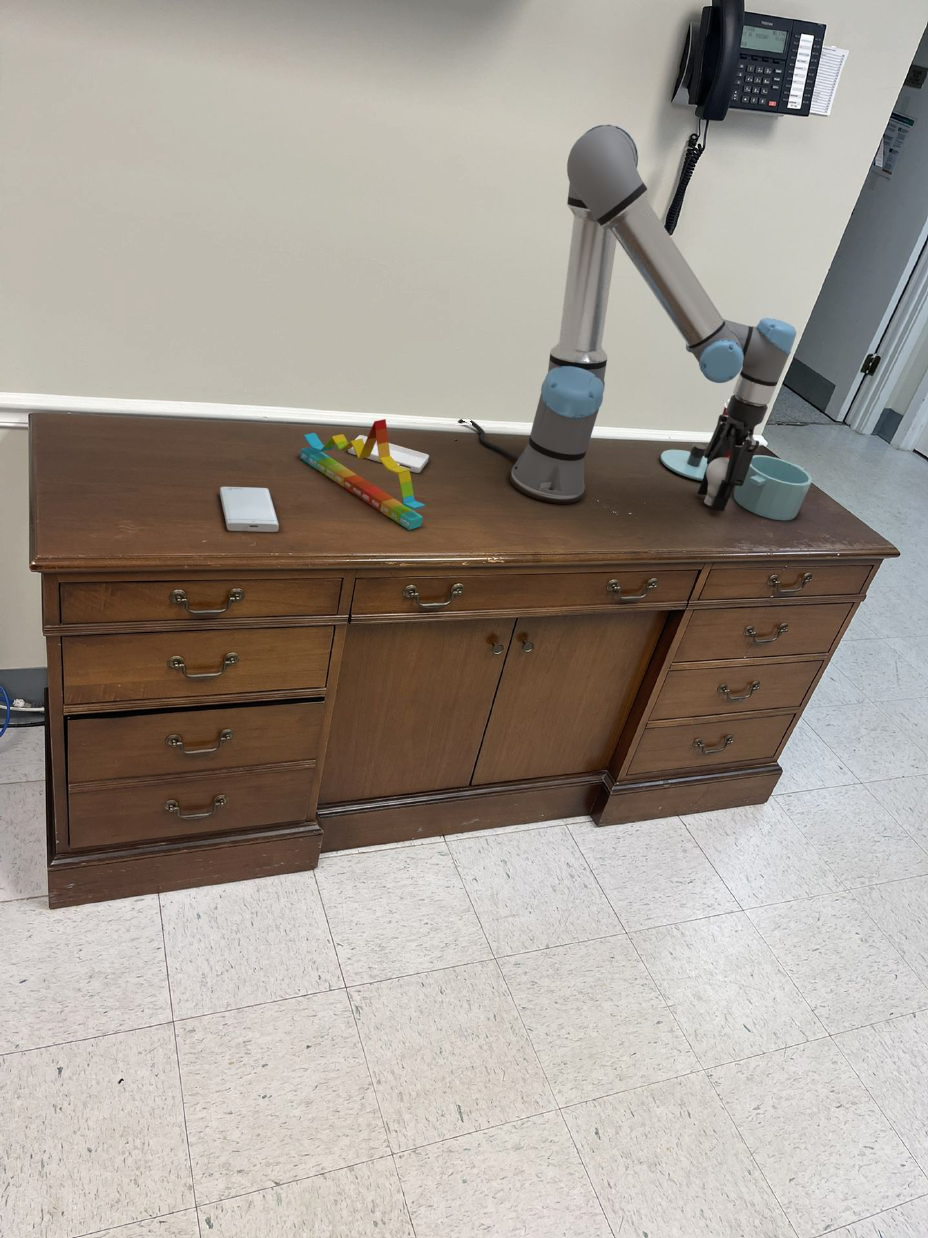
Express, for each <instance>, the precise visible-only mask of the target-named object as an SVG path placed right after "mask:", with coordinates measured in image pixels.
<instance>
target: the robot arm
mask: <svg viewBox="0 0 928 1238" xmlns="http://www.w3.org/2000/svg"><path fill="white" fill-rule="evenodd" d="M567 158H568V159H567V162H566V173H567V178H568V181H569V182H568V183H569V185H568V195H567V202H566V206H567V208H569V210H570V211H571V213H572V215H573V221H572V229H571V239H570V245H569V255H568V262H567V271H566V280H565V289H564V295H563V304H562V305H563V306H562V313H561V322H560V331H559V338H558V343H557V344H555V345H554V346H553V347H551V349H550V351H549V360H548V368H547V373H546V375H545V378H544V380H543V382H542V384H541V387H540V395H539V398H538V399H539V400H538V402H537V407H536V411H535V415H534V419H533V422H532V426H531V430H530V434H529V437H528V442H527V445H526V447H525V448H524V449H523V451H522V452H521V454H520V455H519V456H517V455H516V454H514V453H512V452H511V451H509V450H507V449H505V448H503V447H501V446H498V445H497V444H494V443H493V442H490V441H488V440H487V439H486V438H485V436H486V432H485V429H483V428H482V427H481V426H480V425H479V424H478V423H477V422H476V421H474V420H472V419H470V420H471V421H470V422H471V423H472V425H471V424H469V425H470V426H472V427H473V428H474V429H475V430H476V431H477V432H478V433H480V435H479V440H480V442H481V443H482V444H483V445H484V446H486V447H488V448H490V449H493V450H495V451H496V452H497V451H498V452H499V453H501V454H503V455H504V456H507V457H508V458H510V459H512V460H513V461H515V463H514V465H513V466H512V468H511V472H510V476H509V481H510V483H511V485H512V486H513V487H514V488H515V489H516V490H518V491H519V492H520V493H522V494H524V495H526V496H527V497H530V498H532V499H534V500H538V501H540V502H544V503H549V504H558V505H568V504H574V503H577V502H579V501H581V499H582V498H583V496H584V494H585V490H586V484H585V483H586V482H585V457H586V453H587V450H588V448H589V444H590V441H591V438H592V435H593V430H594V428H595V424H596V421H597V417H598V414H599V411H600V407H601V406H602V403H603V401H604V392H605V386H606V382H605V381H606V380H605V377H606V369H607V362H608V354H607V352H606V351H605V350H604V349H603V347H602V345H603V339H604V331H605V324H606V317H607V310H608V303H609V295H610V289H611V282H612V277H613V276H612V275H613V269H614V268H613V267H614V262H615V255H616V247H617V241H618V243H619V245H620V246H621V247H622V249H623V250H624V252H625V254H626V255H627V256H628V258H629V259H630V261H631V263H632V264H633V266H634V267H635V269H636V270H637V272H638V273H639V275H640V277H642V279H643V280H644V282H645V284H646V285H647V286H648V288H649V290H650V291H651V293H652V294H653V295H654V297H655V299H656V300H657V302H658V303H659V305H660V306H661V307H662V309H663V310H664V312H665V313H666V315H667V316H668V318H669V319H670V321H671V322H672V324H673V325H674V328H676V330H677V331H678V333H679V334H680V336H681V337H682V339H683V341H684V342H685V350H686V352H688V353H691V354H692V355H693V356H694V358H695V359H696V361H697V362H698V366H699V370H700V371H701V373H702V375H703V376H704V377H705V378H706V379H707V380H708V381H710V382H712V383H716V384H724V383H727V382H730V381H733V379H735V378H736V377H737V376H738V377H737V379H736V382H735V385H734V387H733V390H732V393H733V394H732V395H731V396H730V398H729V399H730V401H729V404H728V406H727V409H726V413H727V415H728V416H727V415H722V414H720V415H719V416H718V419H717V423H716V427H715V429H714V431H713V434H712V436H711V439H710V440H709V443H708V446H707V447H706V450H705V453H704V455H703V456H704V457H705V458H707V464H708V465H709V464H710V463H711V462H712V461H713V460H714V459H716V458H719V457H725V455H726V453H727V452H728V450H729V449H730V450H731V453H730V458H729V463H728V468H727V473H726V478H725V480H722V482H721V485H720V487H719V490H718V492H717V495H716V497H715V500H714V502H713V505H712V506H711V508H710V509H711V511H715V512H725V510H726V507H727V505H728V502H729V500H730V498H731V497H732V494H733V493H734V490H735V488H736V486H742V485H743V484H744V481H745V478H746V475H747V472H748V469H749V466H750V464H751V461H752V458H753V456H754V455H755V452H756V451H757V449H758V448H759V445H760V440H755V438H754V434H755V433H754V432H755V428H756V426H757V425H761V424H762V423H763V421H764V419H765V416H766V414H767V412H768V408H769V407H768V405H769V404H770V403H771V400H772V398H773V396H774V392H775V390H776V387H777V386H778V383H779V381H780V378H781V376H782V373H783V372H784V369H785V366H786V364H787V361H788V360H789V357H790V355H791V354H792V349H793V346H794V343H795V340H796V337H797V330H796V328H795V326H793V325H791V324H790V323H788V322H786V321H784V320H781V319H776V318H771V317H763V318H761V319H760V320H759V322H758V324H757V325H756V326H755V325H753V326H750V325H747V324H743V323H739V322H736V321H732V320H728V319H724V318H723V316H722V315H721V313H720V312H719V310H718V309H717V307H716V306H715V304H714V303H713V301H712V299H711V298H710V297H709V295H708V293H707V292H706V290H705V288H704V287H703V285H702V284H701V283H700V282H701V281H699V279H698V277H697V276H696V274H695V273H694V271H693V269H692V268H691V266H690V265H689V264H688V262H687V260H686V258H685V257H684V255H683V254H682V252H681V251H680V249H679V248H678V246H677V244H676V243H675V241H674V240H673V238H672V236H671V235H670V234H669V232H668V230H667V229H666V228H665V226H664V224H663V223H662V221H661V219H660V218H659V216H658V215H657V213H656V212H655V211H654V208H653V207H652V205H651V204H650V202H649V201H648V195H649V189H648V187H647V186H646V184H645V183H644V181H643V179H642V177H641V175H640V173H639V171H638V165H639V155H638V148H637V144H636V142H635V140H634V138H632V136H631V135H630V134H629V132H627V131H626V130H625V129H623V128H622V127H619V126H618V125H611V124H599V125H596V126H594V127H592V128H590V129H588V130H586V132H584V133H583V135H581V136H580V137H579V138H578V139H576V141H575V142H574V144H573V146H572V147H571V149H570V151H569V154H568V157H567ZM462 419H463V418H460V419H459V420H458V421H457V424H459V425H460V424H461V425H462V424H465V423H466V424H468V423H467V422H465V421H463V420H462ZM735 445H736V446H740V447H736V446H735ZM711 452H712V453H711ZM708 465H707V467H708ZM706 470H707V468H706ZM707 488H708V480H707V476H706V471H705V473H704V477H703V480H702V481H701V482H700V485H699V487H698V490H697V494H698V495H699V496H706V495H707V492H708V490H707Z"/></svg>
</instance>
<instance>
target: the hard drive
mask: <svg viewBox="0 0 928 1238" xmlns="http://www.w3.org/2000/svg"><path fill="white" fill-rule="evenodd" d="M219 497H220V500H221V506H222V511H223V515H224V519H225V525H226V530H227V531H230V532H264V533H265V532H266V533H278V532H279V527H280V524H279V521H278V517H277V514H276V511H275V508H274V507H275V506H274V504H273V500H272V496H271V493H270V490H269V488H267V487H250V486H249V487H247V486H246V487H244V486H221V487H219Z"/></svg>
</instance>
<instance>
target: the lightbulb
mask: <svg viewBox="0 0 928 1238" xmlns="http://www.w3.org/2000/svg"><path fill="white" fill-rule="evenodd" d="M728 463H729V458H726V457H719V458H716V459H714V460H713V461H712V462H711V463H710V464H709V465H708V467H707V470H706V476H707V480H708V488H707V490H708V492H707V495H705V498H704V499H703V502H704V504H705V505H706V506H707V507H711V508H712V505H713V502H714V500H715V497H716V495H717V492H718V490H719V487H720V485H721V482H722V480H725V478H726V473H727V468H728Z"/></svg>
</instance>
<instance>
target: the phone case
mask: <svg viewBox="0 0 928 1238" xmlns="http://www.w3.org/2000/svg"><path fill="white" fill-rule="evenodd" d="M367 437H368V436H366V435H362V434H359V435H358V436H357V437H356V438H355V439H354V440H357V439H363V442H364V444H365V442H366V440H367ZM389 450H390V456H391V457H392V458H393V459H394V461H395V462H396V463H397V464H398V465H399V466H400V467H403V468H406V469H409V471H410V473H411V472H412V473H415V474H420V473H421V472H422V471H423V469H424V467H426V465H427V464H428V463H429V460H430V459H429V458H430V455H429V454H428V453H424V452H421V451H417V450H414V449H410V448H407V447H404V446H400V445H398V444H393V443H390V442H389ZM347 453H349V454H350V455H354V456H357V455H356V453H355V451H354V448H353V447H352V448H351V449H347ZM366 459H367V460H370V461H371V460H372V461H375V462H377V463H381V462H380V460H379V455H378V447H377V441H376V443H375V445H374V448H373V450H372V452H371V455H370V457H367V458H366Z"/></svg>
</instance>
